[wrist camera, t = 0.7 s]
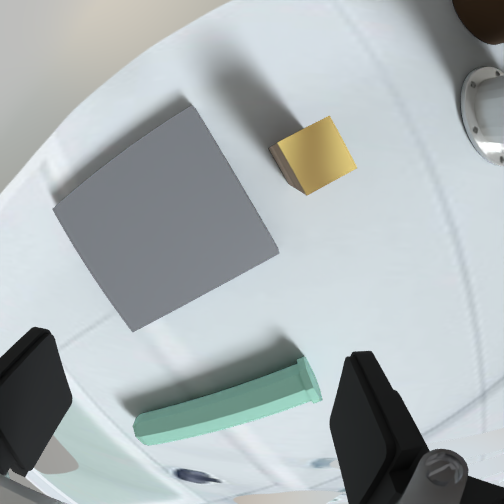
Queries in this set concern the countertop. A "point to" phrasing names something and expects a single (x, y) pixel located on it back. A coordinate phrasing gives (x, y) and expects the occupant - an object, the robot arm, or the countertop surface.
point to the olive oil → (483, 18)
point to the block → (313, 156)
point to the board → (164, 222)
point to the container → (230, 406)
